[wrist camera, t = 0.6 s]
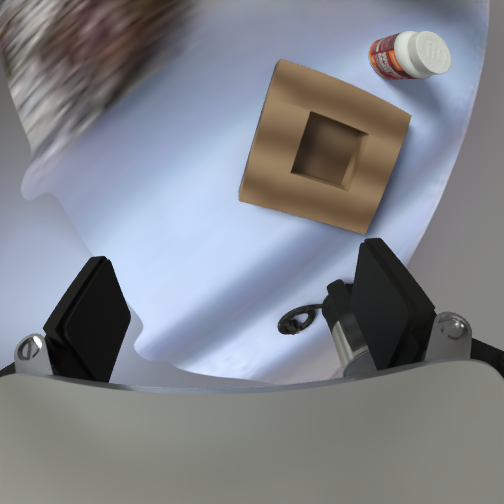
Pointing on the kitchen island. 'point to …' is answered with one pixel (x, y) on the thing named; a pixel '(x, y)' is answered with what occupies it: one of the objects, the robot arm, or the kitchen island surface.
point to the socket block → (322, 149)
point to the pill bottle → (410, 55)
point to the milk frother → (337, 328)
